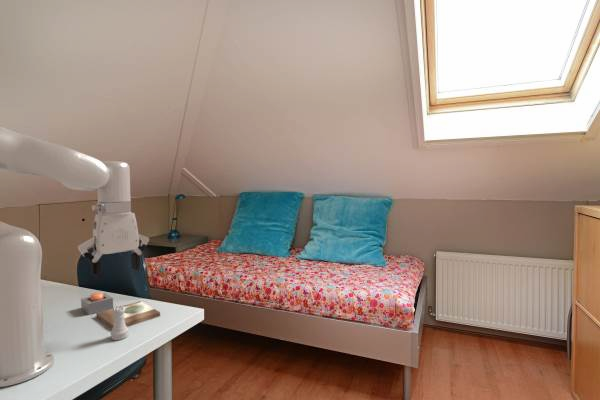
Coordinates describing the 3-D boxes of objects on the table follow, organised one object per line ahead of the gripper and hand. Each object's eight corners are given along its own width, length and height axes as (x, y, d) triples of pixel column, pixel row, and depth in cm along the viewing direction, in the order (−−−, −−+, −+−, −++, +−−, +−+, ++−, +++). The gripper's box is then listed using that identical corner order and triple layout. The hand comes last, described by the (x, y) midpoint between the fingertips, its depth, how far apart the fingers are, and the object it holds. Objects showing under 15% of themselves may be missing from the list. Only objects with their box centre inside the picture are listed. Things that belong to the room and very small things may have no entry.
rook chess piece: (121, 341, 88) (119, 311, 87) (106, 340, 89) (104, 310, 88) (133, 333, 92) (131, 304, 92) (118, 332, 93) (117, 303, 93)
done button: (92, 303, 107) (92, 297, 107) (88, 300, 110) (88, 294, 109) (105, 300, 110) (104, 294, 110) (101, 297, 112) (100, 292, 112)
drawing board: (114, 330, 94) (114, 325, 94) (96, 316, 103) (96, 312, 103) (160, 315, 104) (160, 311, 104) (140, 304, 113) (139, 300, 113)
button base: (88, 314, 105) (88, 304, 105) (81, 309, 110) (80, 298, 109) (113, 308, 110) (112, 297, 110) (105, 302, 115) (104, 293, 115)
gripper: (82, 211, 81) (84, 283, 82) (153, 207, 94) (155, 268, 95) (72, 209, 86) (74, 277, 87) (141, 205, 99) (143, 264, 100)
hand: (116, 272), depth 91 cm, fingers open, 9 cm apart
